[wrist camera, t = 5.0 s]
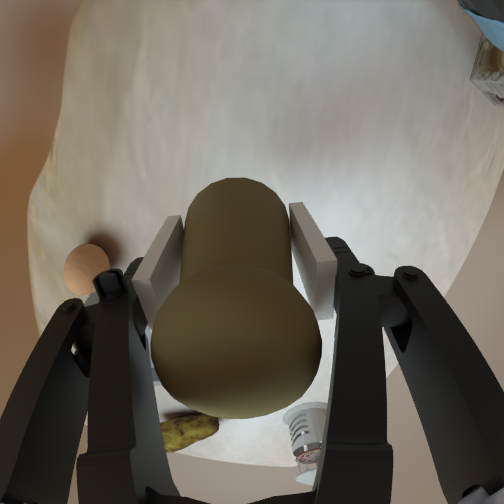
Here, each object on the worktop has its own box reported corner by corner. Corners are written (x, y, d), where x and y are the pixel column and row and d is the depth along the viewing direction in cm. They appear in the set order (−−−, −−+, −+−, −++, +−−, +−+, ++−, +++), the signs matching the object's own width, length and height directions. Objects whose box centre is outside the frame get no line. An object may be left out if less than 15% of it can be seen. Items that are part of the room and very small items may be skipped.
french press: (339, 401, 48) (371, 517, 26) (318, 430, 53) (338, 530, 31) (291, 401, 47) (311, 529, 25) (274, 430, 52) (286, 538, 30)
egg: (101, 227, 31) (75, 256, 25) (125, 265, 33) (104, 299, 27) (72, 245, 32) (44, 274, 25) (94, 279, 34) (72, 312, 28)
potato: (218, 428, 51) (217, 462, 44) (155, 421, 50) (149, 454, 43) (220, 408, 47) (219, 446, 40) (150, 400, 46) (142, 436, 39)
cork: (308, 206, 16) (393, 349, 7) (259, 287, 19) (275, 449, 9) (211, 158, 15) (157, 260, 5) (170, 250, 17) (111, 407, 8)
